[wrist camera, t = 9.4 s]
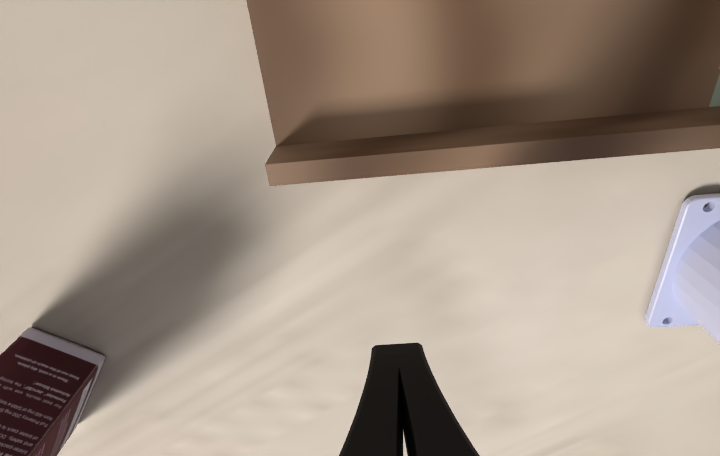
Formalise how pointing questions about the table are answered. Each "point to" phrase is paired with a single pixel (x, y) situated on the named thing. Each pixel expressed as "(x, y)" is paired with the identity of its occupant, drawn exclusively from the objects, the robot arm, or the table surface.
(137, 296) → the table surface
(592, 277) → the table surface
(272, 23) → the trap deck
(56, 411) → the supplement box
